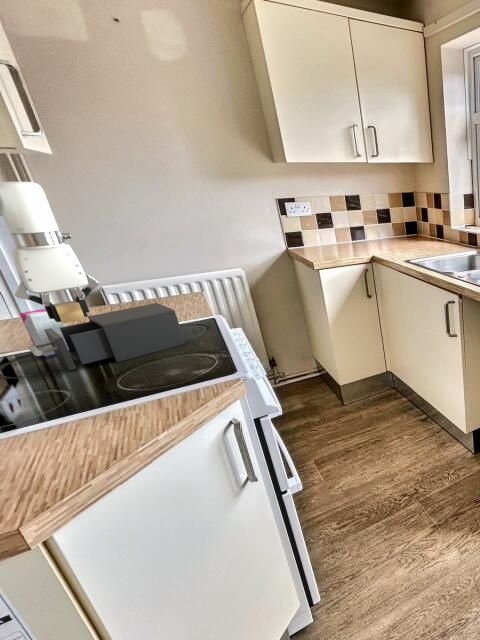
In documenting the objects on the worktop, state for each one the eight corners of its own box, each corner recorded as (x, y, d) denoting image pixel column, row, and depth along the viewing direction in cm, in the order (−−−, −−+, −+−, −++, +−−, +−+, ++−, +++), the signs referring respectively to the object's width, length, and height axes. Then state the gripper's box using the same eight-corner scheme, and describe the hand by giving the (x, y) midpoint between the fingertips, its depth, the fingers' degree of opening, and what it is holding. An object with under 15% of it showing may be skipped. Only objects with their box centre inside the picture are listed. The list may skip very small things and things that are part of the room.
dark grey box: (45, 376, 95) (30, 344, 92) (34, 364, 101) (20, 334, 99) (141, 351, 108) (130, 322, 105) (126, 341, 115) (116, 314, 112)
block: (62, 323, 98) (55, 306, 97) (58, 320, 100) (51, 304, 99) (85, 318, 101) (78, 302, 100) (81, 316, 103) (74, 300, 102)
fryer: (116, 362, 104) (102, 325, 100) (101, 350, 111) (87, 316, 108) (185, 343, 115) (174, 310, 111) (167, 334, 122) (156, 302, 119)
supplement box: (77, 350, 112) (59, 309, 108) (47, 358, 107) (27, 315, 103) (67, 347, 114) (48, 306, 110) (37, 355, 109) (17, 313, 105)
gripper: (85, 235, 102) (112, 307, 109) (-21, 244, 90) (17, 325, 96) (93, 237, 98) (121, 312, 105) (-17, 246, 86) (23, 331, 92)
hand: (71, 317), depth 101 cm, fingers closed on block, 4 cm apart
